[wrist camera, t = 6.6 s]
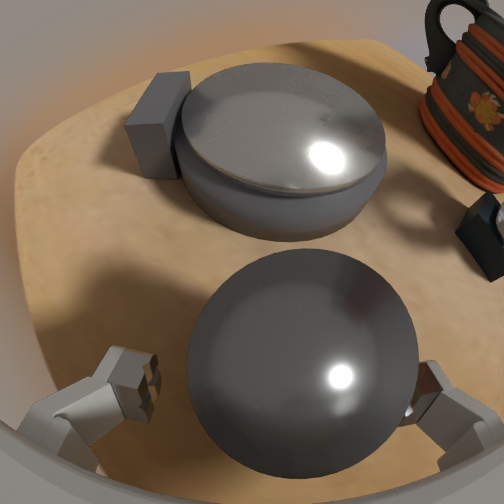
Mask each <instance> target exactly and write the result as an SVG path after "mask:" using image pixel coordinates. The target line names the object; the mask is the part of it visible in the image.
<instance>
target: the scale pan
mask: <svg viewBox="0 0 504 504" xmlns="http://www.w3.org/2000/svg"><path fill="white" fill-rule="evenodd" d="M182 123H183V129H184V134H185V137H186V140H187V143H188V145H189V146H190V148H191V150H192V151H193V153H194V154H195V155H196V156H197V157H198V159H199V160H200V161H201V162H202V163H204V164H205V165H206V166H207V167H208V168H210V169H211V170H213V171H214V172H216V173H217V174H219V175H220V176H222V177H224V178H226V179H228V180H230V181H232V182H234V183H236V184H239V185H242V186H244V187H247V188H250V189H253V190H257V191H261V192H265V193H268V194H275V195H281V196H290V197H319V196H325V195H332V194H336V193H339V192H343V191H346V190H348V189H350V188H353V187H355V186H357V185H358V184H360V183H361V182H363V181H364V180H366V179H367V178H368V177H369V176H370V175H371V174H372V172H373V171H374V169H375V168H376V166H377V164H378V163H379V161H380V159H381V158H382V155H383V152H384V150H385V132H384V129H383V125H382V123H381V121H380V119H379V117H378V115H377V114H376V112H375V111H374V109H373V108H372V107H371V106H370V105H369V103H368V102H367V101H366V100H365V99H364V98H363V97H362V96H360V95H359V94H358V93H357V92H356V91H354V90H353V89H352V88H350V87H349V86H347V85H346V84H344V83H342V82H340V81H339V80H337V79H335V78H333V77H331V76H328V75H326V74H324V73H321V72H318V71H315V70H312V69H309V68H305V67H301V66H296V65H290V64H283V63H252V64H244V65H240V66H235V67H231V68H228V69H225V70H222V71H220V72H217V73H215V74H213V75H211V76H209V77H208V78H206V79H205V80H203V81H202V82H200V83H199V84H198V85H197V86H196V87H195V88H194V89H193V90H192V91H191V92H190V94H189V95H188V97H187V98H186V100H185V102H184V105H183V108H182Z"/></svg>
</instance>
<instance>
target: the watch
mask: <svg viewBox="0 0 504 504" xmlns="http://www.w3.org/2000/svg"><path fill="white" fill-rule="evenodd" d="M455 233H456V234H457V236H458V237H459V238H460V240H461V241H462V242H463V243H464V245H465V246H466V247H467V249H468V250H469V251H470V253H471V254H472V256H473V257H474V258H475V260H476V261H477V263H478V264H479V266H480V267H481V268H482V270H483V271H484V273H485V274H486V276H487V277H488V279H489V281H490V282H493V281H495V280H497V279H499V278H500V277H502V276H504V202H503V203H502V205H501V204H500V203H499V202H498V200H497V199H496V198H495V196H494V195H493V194H492V193H491V191H490V190H488V191H487V192H486V193H485V194H484V195H482V196H481V197H480V198H479V199H478V200H477V201H476V202H475V203H474V204H473V205H472V206H471V207H470V208H469V209H468V211H467V213H466V215H465V216H464V218H463V220H462V222H461V223H460V225H459V227H458V228H457V230H456V232H455Z"/></svg>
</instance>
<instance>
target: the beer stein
mask: <svg viewBox="0 0 504 504" xmlns="http://www.w3.org/2000/svg"><path fill="white" fill-rule="evenodd" d="M450 4H457V5H460V6H463V7H465V8H466V9H467V10H469V11H470V12H471V13H472V14H473V16H474V19H475V23H474V24H469V26H468V32H465V33H463V35H462V40H457V42H456V44H455V43H454V42H453V41H452V40H451V39H450V38H449V37H448V36H447V35H446V34H445V32H444V31H443V29H442V27H441V24H440V14H441V12H442V10H443V9H444V7H446V6H447V5H450ZM425 30H426V38H427V43H428V48H429V56H428V57H425V63H426V65H427V72H434V73H435V74H436V76H435V78H434V79H433V83H432V85H431V86H429V87H428V88H427V93H426V94H425V95H424V96H423V98H422V100H421V102H420V105H419V108H420V109H419V110H420V113H421V120H422V122H423V124H424V126H425V128H426V129H427V131H428V132H429V134H430V135H431V137H432V138H433V139H434V141H435V142H436V144H437V145H438V146H439V148H440V149H441V150H442V151H443V152H444V153H445V155H446V156H447V157H448V158H449V159H450V161H451V162H452V163H453V164H454V165H455V166H456V167H457V169H458V170H460V172H461V173H463V174H464V175H465V176H466V177H467V178H468V179H470V180H471V181H472V182H473V183H475V184H476V185H478V186H479V187H481V188H483V189H484V190H486V191H488V190H490V191H491V192H492V193H504V19H503V18H502V17H501V16H500V15H499V14H497V13H496V12H495V11H493V10H492V9H491V8H490V7H489V3H488V1H487V0H431V1H430V3H429V5H428V7H427V9H426V13H425Z"/></svg>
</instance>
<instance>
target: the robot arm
mask: <svg viewBox="0 0 504 504" xmlns="http://www.w3.org/2000/svg"><path fill="white" fill-rule="evenodd" d="M157 365H158V359H157V355H155V354H152V353H147V352H143V351H138V350H134V349H130V348H124V347H120V346H117V345H113V346H111V347H110V348H109V350H108V351H107V353H106V355H105V356H104V358H103V359H102V361H101V363H100V364H99V366H98V367H97V369H96V371H95V372H94V374H93V376H92V377H86V378H84V379H82V380H80V381H78V382H76V383H74V384H72V385H70V386H68V387H66V388H64V389H62V390H60V391H58V392H56V393H54V394H52V395H50V396H48V397H45V398H43V399H41V400H39V401H37V402H36V403H34V404H33V406H32V407H31V409H30V410H29V412H28V413H27V415H26V416H25V418H24V420H23V421H22V423H21V425H20V426H19V428H18V430H17V431H15V430H14V429H12V428H11V427H9V426H8V425H6V424H5V423H4V422H2V421H1V420H0V504H220V503H211V502H203V501H197V500H190V499H185V498H179V497H174V496H169V495H165V494H161V493H156V492H152V491H149V490H145V489H141V488H138V487H134V486H131V485H128V484H125V483H122V482H119V481H116V480H113V479H110V478H107V477H105V476H102V475H99V474H97V473H95V471H96V468H97V465H98V462H99V461H98V459H97V457H96V456H95V455H94V454H93V452H92V451H91V450H90V449H89V447H90V446H91V445H92V444H94V443H95V442H96V441H98V440H99V439H100V438H102V437H103V436H104V435H106V434H107V433H108V432H109V431H111V430H112V429H113V428H115V427H116V426H117V425H118V424H120V423H121V422H122V421H123V420H125V418H128V419H132V420H136V421H141V422H145V423H149V422H150V419H151V416H152V414H153V411H154V405H153V401H154V400H155V399H157V398H158V396H159V393H160V388H161V374H160V371H159V370H158V369H157V368H156V367H157ZM412 424H416V425H417V426H418V427H419V428H420V429H421V430H422V431H423V432H425V433H426V434H427V435H428V436H429V437H430V438H431V439H432V440H433V441H434V442H435V443H436V444H438V445H439V446H440V447H441V448H442V449H443V450H444V451H445V452H446V453H445V454H443V455H442V456H441V457H440V458H439V459H438V461H437V463H438V466H439V469H440V472H439V473H436V474H434V475H431V476H428V477H426V478H423V479H420V480H418V481H415V482H412V483H409V484H406V485H403V486H399V487H396V488H392V489H389V490H385V491H381V492H377V493H373V494H369V495H365V496H360V497H355V498H350V499H344V500H338V501H331V502H323V503H314V504H504V424H503V423H502V421H501V419H500V418H499V416H498V414H497V412H495V411H493V410H492V409H490V408H489V407H487V406H485V405H484V404H482V403H480V402H479V401H477V400H476V399H474V398H472V397H471V396H469V395H467V394H466V393H464V392H463V391H461V390H459V389H458V388H453V386H452V385H451V383H450V381H449V380H448V378H447V377H446V375H445V374H444V372H443V370H442V369H441V367H440V366H439V364H438V363H437V362H436V361H435V360H429V361H423V362H419V366H418V376H417V382H416V387H415V390H414V394H413V397H412V400H411V403H410V405H409V407H408V409H407V411H406V413H405V415H404V417H403V419H402V420H401V422H400V423H399V425H398V427H402V426H407V425H412Z"/></svg>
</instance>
